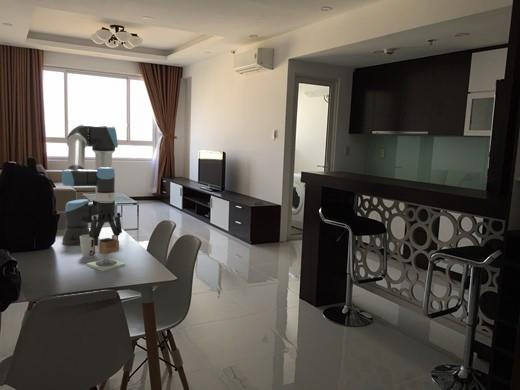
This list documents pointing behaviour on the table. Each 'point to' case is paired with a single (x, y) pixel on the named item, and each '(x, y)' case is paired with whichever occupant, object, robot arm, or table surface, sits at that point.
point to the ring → (108, 246)
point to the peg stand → (106, 263)
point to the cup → (87, 246)
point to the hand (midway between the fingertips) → (106, 250)
